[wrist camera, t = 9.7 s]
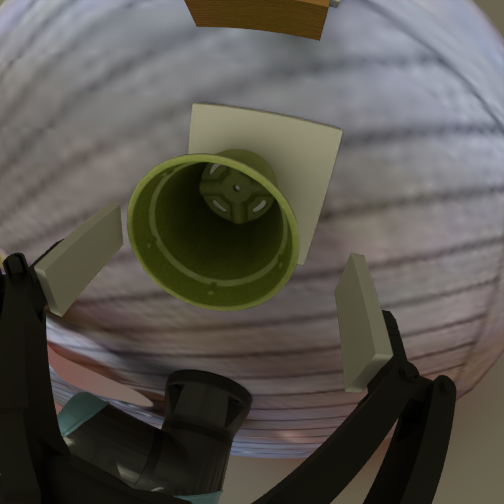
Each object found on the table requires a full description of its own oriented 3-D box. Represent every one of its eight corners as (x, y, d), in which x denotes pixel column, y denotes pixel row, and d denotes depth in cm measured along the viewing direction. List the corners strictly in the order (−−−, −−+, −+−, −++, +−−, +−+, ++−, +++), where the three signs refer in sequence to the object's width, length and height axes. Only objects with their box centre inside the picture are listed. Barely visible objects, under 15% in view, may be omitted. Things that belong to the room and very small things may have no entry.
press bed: (303, 256, 25) (303, 265, 24) (189, 231, 26) (183, 239, 25) (339, 128, 19) (342, 130, 17) (199, 102, 19) (193, 103, 18)
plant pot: (325, 185, 20) (340, 246, 13) (247, 258, 25) (224, 332, 17) (229, 102, 17) (182, 112, 10) (163, 192, 22) (105, 246, 15)
